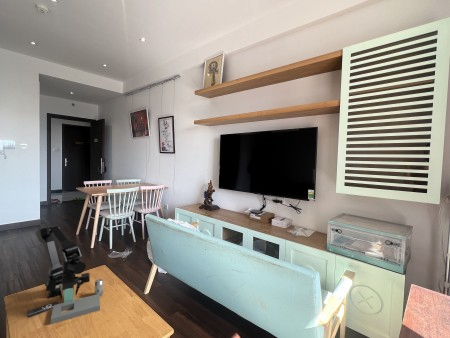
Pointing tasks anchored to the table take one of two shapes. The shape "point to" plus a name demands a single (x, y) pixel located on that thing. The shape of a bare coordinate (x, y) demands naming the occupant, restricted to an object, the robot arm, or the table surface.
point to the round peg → (99, 287)
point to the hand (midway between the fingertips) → (68, 296)
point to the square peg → (69, 295)
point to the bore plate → (75, 308)
